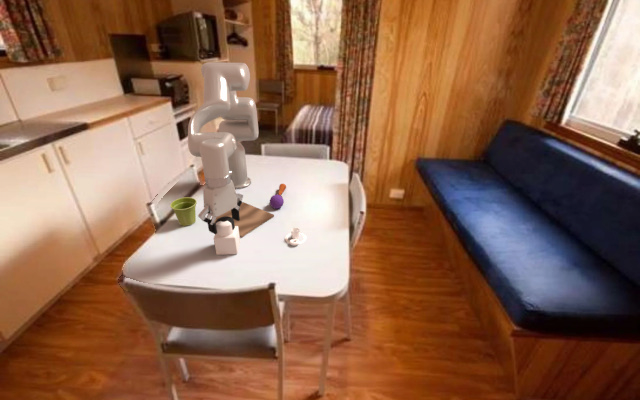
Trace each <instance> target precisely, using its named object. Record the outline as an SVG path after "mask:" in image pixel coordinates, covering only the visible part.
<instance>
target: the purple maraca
mask: <svg viewBox="0 0 640 400" xmlns="http://www.w3.org/2000/svg"><path fill="white" fill-rule="evenodd" d="M278 186H279V187H278V192H277V194H273V195H272V196H271V197H270V198H269V204H270V206H271V207H272V208H273V209H279V208H282V207H283V205H284V202H285V201H284V198H283V196H282V194H283V193H284V192H285V190H286V189H287V185H286V184H285V183H280V184H279V185H278Z"/></svg>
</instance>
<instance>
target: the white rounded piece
mask: <svg viewBox="0 0 640 400" xmlns="http://www.w3.org/2000/svg"><path fill="white" fill-rule="evenodd" d="M300 231H301V230H300V228H299V227H293V228H291V229H290V232H289V233H287V234H286V236H285V237H284V240H285V242H286V243H287V244H289V245H291V246H298V245H302V244H304V243H305V242H306V240H307V235H306V234H304V233H302V232H300ZM290 236H291V238H292V239H290V240H289V237H290ZM300 236H301V237H302V238H303V239H302V240H301V241H300V240H299V238H300Z"/></svg>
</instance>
